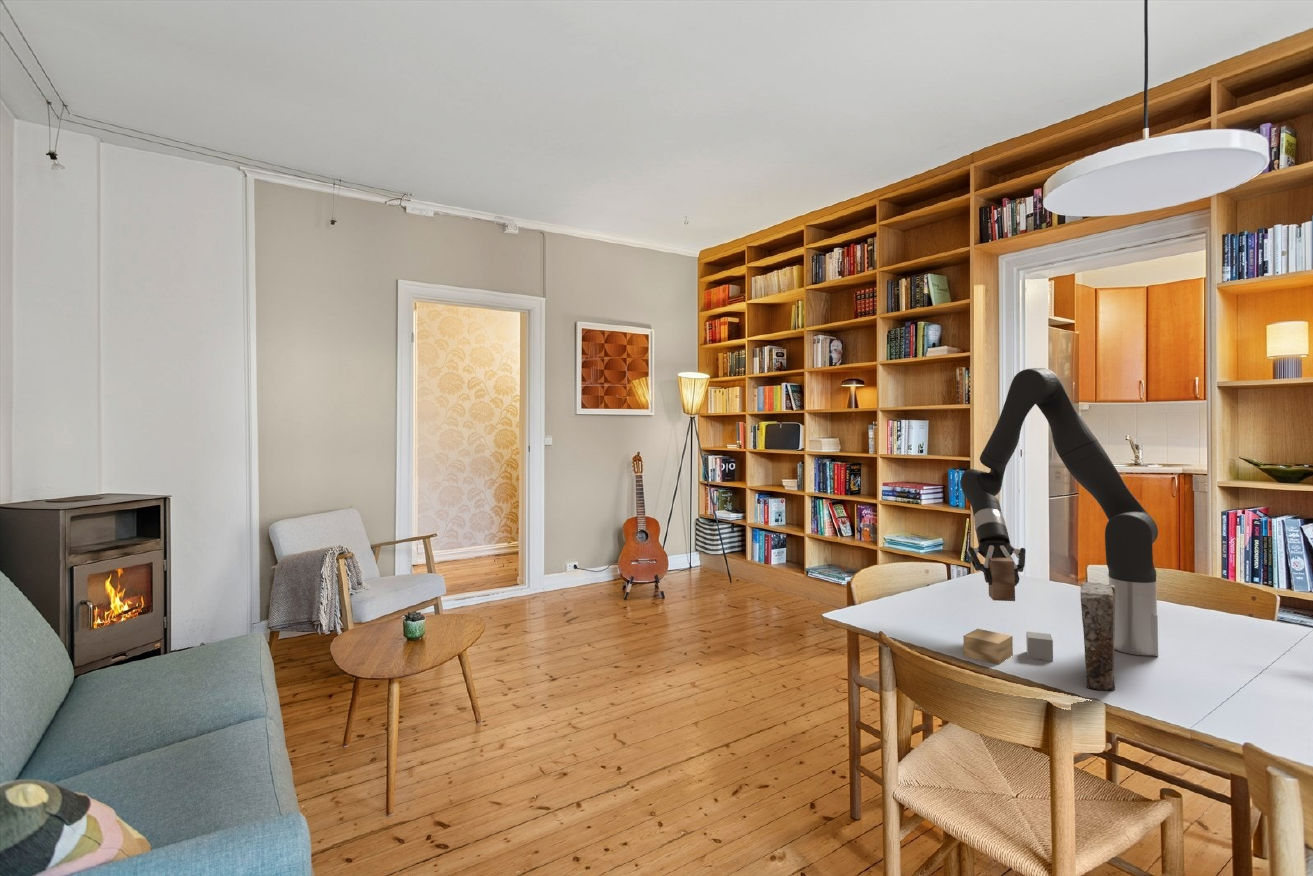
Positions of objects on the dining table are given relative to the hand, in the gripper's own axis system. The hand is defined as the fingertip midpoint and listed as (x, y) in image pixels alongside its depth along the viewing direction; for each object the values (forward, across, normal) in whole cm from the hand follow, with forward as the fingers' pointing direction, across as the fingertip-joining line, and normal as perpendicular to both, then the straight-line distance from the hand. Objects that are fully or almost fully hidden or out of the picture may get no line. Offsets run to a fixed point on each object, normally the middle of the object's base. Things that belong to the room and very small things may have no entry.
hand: (1003, 583), depth 160 cm
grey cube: (+17, +5, +5) cm, 18 cm away
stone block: (+27, +13, -5) cm, 30 cm away
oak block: (+18, -6, +3) cm, 20 cm away
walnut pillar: (+2, 0, +4) cm, 5 cm away
